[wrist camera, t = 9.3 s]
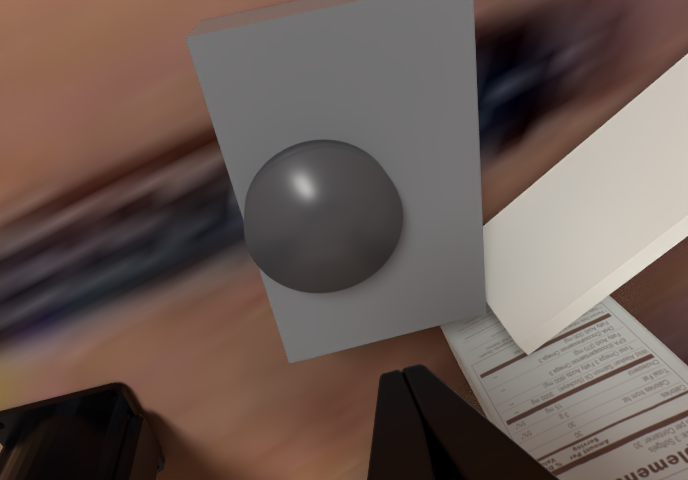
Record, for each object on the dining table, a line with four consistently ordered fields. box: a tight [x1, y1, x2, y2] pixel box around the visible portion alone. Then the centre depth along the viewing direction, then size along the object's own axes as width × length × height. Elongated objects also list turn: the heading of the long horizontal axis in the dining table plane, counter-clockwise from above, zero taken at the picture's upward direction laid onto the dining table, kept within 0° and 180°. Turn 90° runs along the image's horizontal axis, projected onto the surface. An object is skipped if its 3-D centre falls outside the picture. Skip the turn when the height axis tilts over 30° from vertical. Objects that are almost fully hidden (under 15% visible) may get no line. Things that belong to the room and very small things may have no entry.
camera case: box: [185, 0, 486, 364], centre depth 18 cm, size 8×12×6 cm, turn 10°
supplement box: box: [440, 295, 688, 480], centre depth 22 cm, size 7×7×13 cm
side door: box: [483, 54, 688, 355], centre depth 19 cm, size 1×16×7 cm, turn 133°
